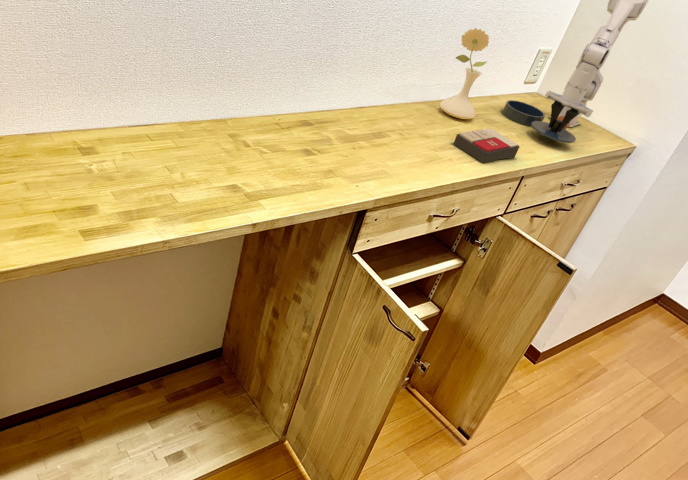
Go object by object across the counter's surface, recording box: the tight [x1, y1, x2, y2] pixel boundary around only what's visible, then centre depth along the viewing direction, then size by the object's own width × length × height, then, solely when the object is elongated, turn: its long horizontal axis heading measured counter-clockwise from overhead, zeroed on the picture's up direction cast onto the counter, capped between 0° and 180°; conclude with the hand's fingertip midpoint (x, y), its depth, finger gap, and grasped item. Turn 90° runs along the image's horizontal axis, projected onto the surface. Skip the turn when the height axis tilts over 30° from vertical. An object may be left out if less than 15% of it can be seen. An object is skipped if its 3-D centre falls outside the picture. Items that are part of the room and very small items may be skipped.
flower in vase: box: [439, 27, 490, 120], centre depth 171 cm, size 13×11×25 cm
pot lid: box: [531, 119, 577, 144], centre depth 176 cm, size 14×14×4 cm
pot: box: [501, 99, 546, 128], centre depth 190 cm, size 13×13×3 cm
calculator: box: [452, 128, 520, 164], centre depth 157 cm, size 11×4×15 cm
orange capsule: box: [557, 116, 570, 130], centre depth 187 cm, size 9×5×5 cm, turn 135°
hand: (554, 129), depth 177 cm, fingers closed on pot lid, 2 cm apart
